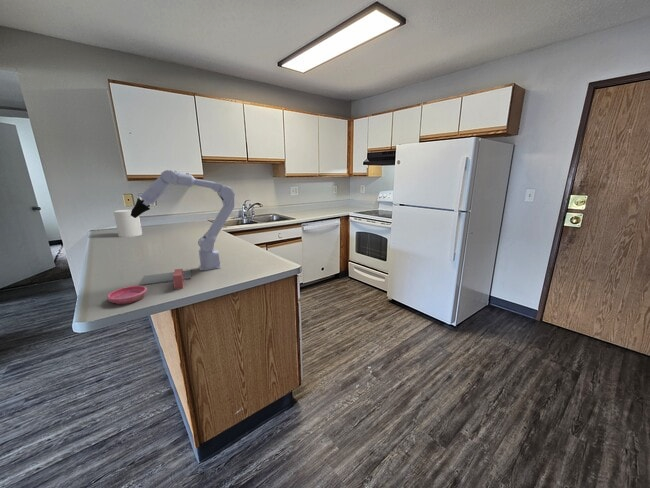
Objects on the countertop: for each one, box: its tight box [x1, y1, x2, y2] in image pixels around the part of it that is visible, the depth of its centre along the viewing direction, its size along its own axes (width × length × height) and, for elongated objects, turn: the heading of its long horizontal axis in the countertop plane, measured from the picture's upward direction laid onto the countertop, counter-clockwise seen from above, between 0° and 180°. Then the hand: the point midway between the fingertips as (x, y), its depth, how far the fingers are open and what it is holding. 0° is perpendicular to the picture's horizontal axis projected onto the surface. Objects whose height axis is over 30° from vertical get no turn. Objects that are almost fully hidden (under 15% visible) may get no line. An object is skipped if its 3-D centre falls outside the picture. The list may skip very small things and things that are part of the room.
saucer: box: [106, 284, 148, 305], centre depth 102 cm, size 12×12×3 cm
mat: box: [138, 269, 192, 286], centre depth 123 cm, size 20×12×1 cm, turn 114°
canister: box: [113, 208, 143, 238], centre depth 213 cm, size 16×16×20 cm
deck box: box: [173, 268, 185, 290], centre depth 114 cm, size 3×9×6 cm, turn 25°
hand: (132, 215), depth 116 cm, fingers open, 7 cm apart
